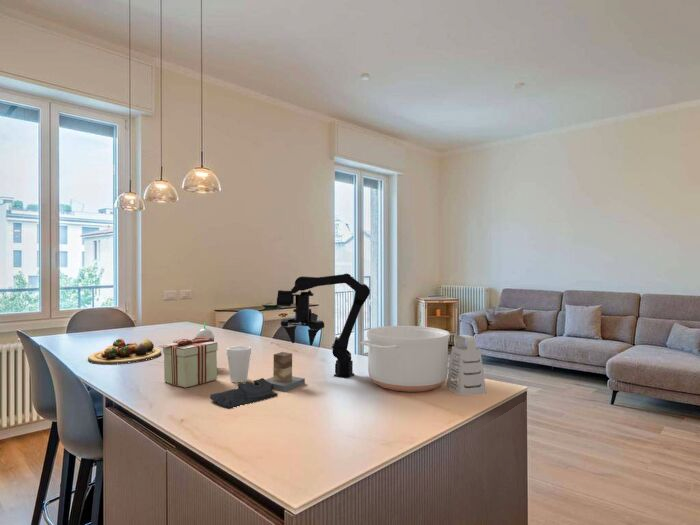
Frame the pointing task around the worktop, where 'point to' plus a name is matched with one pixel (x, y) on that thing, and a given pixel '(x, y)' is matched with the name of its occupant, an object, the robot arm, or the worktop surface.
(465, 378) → the grater
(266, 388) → the dark slate chunk
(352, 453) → the worktop surface
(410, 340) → the pot
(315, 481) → the worktop surface
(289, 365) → the walnut block
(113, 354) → the wooden plate with food
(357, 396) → the worktop surface
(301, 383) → the base
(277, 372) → the oak block
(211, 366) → the gift box
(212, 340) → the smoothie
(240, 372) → the foam cup
